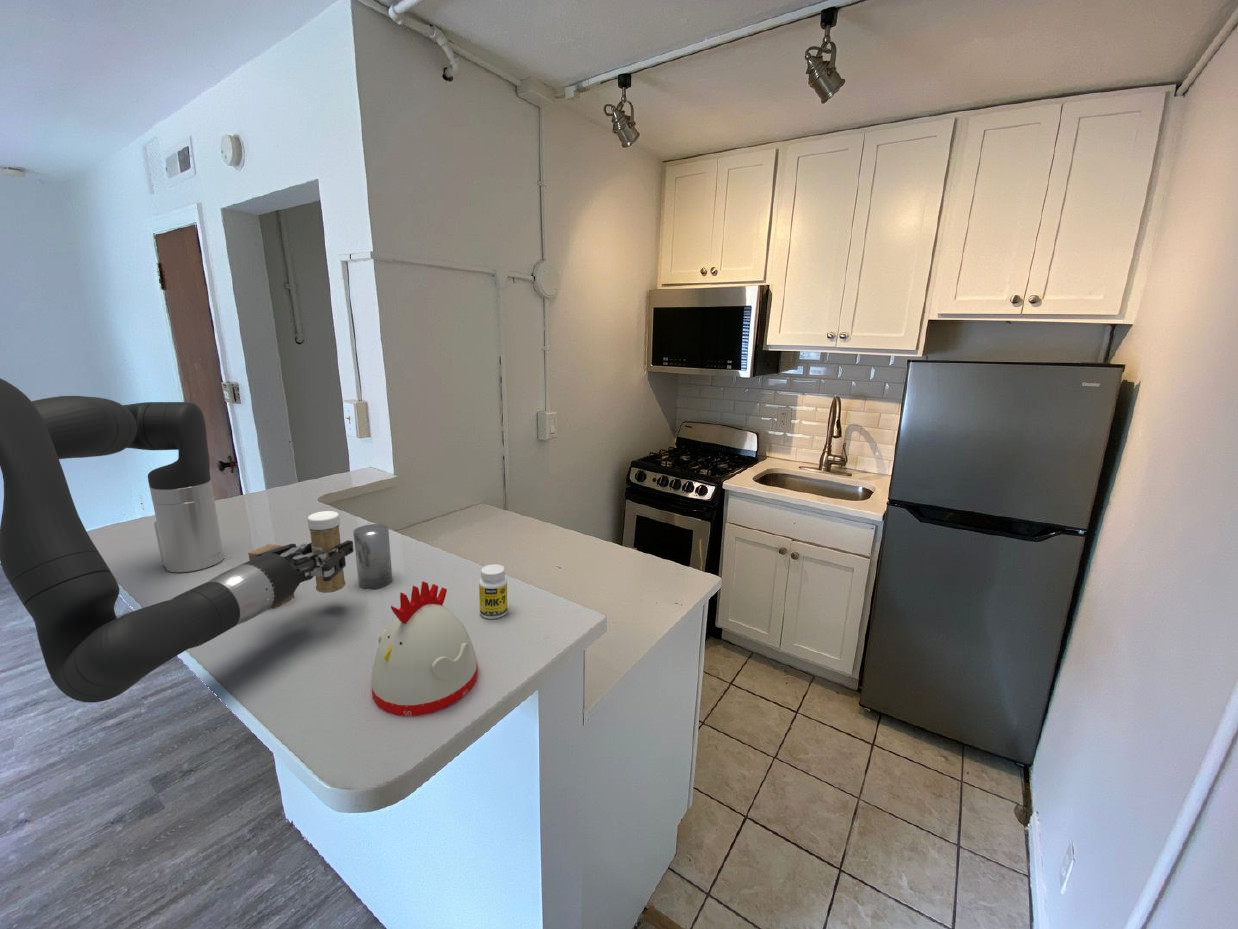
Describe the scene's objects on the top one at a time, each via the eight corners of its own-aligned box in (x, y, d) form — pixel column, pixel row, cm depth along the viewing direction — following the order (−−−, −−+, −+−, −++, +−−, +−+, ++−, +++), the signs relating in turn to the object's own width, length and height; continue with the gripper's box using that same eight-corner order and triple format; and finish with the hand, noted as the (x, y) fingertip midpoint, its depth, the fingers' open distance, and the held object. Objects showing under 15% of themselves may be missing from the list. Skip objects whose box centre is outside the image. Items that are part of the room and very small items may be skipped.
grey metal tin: (351, 587, 95) (345, 533, 92) (372, 573, 101) (368, 522, 98) (378, 591, 94) (374, 537, 91) (399, 577, 100) (395, 526, 97)
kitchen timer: (351, 689, 68) (340, 590, 64) (434, 640, 80) (429, 554, 76) (416, 732, 61) (408, 623, 57) (497, 672, 73) (494, 578, 69)
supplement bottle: (483, 622, 85) (481, 577, 83) (477, 609, 89) (475, 565, 87) (510, 616, 87) (509, 572, 85) (503, 603, 91) (502, 561, 89)
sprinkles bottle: (347, 590, 86) (340, 516, 82) (316, 596, 83) (307, 521, 80) (344, 579, 89) (337, 508, 86) (314, 585, 87) (306, 512, 83)
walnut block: (256, 605, 88) (248, 552, 85) (276, 594, 92) (268, 544, 89) (275, 608, 87) (267, 555, 85) (294, 597, 91) (287, 546, 88)
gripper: (288, 572, 69) (373, 528, 85) (204, 558, 71) (302, 518, 88) (295, 620, 70) (376, 568, 87) (213, 605, 73) (306, 558, 89)
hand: (338, 543), depth 87 cm, fingers closed on sprinkles bottle, 4 cm apart
